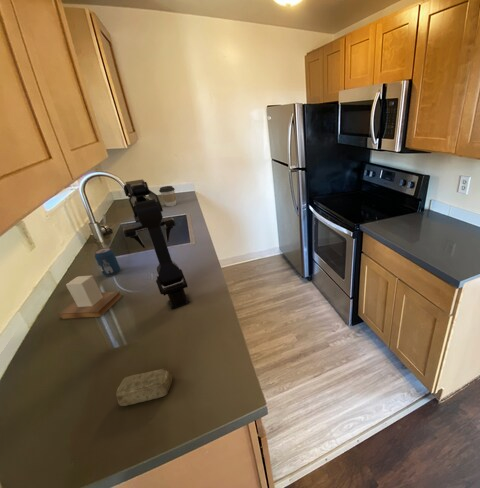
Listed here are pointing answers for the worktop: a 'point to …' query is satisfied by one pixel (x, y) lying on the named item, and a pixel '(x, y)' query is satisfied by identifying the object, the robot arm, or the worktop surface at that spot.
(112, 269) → the soda can
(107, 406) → the worktop surface
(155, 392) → the stone block
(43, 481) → the worktop surface
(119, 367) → the worktop surface
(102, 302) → the wooden base plate
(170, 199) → the coffee cup
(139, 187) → the robot arm
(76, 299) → the cream box
